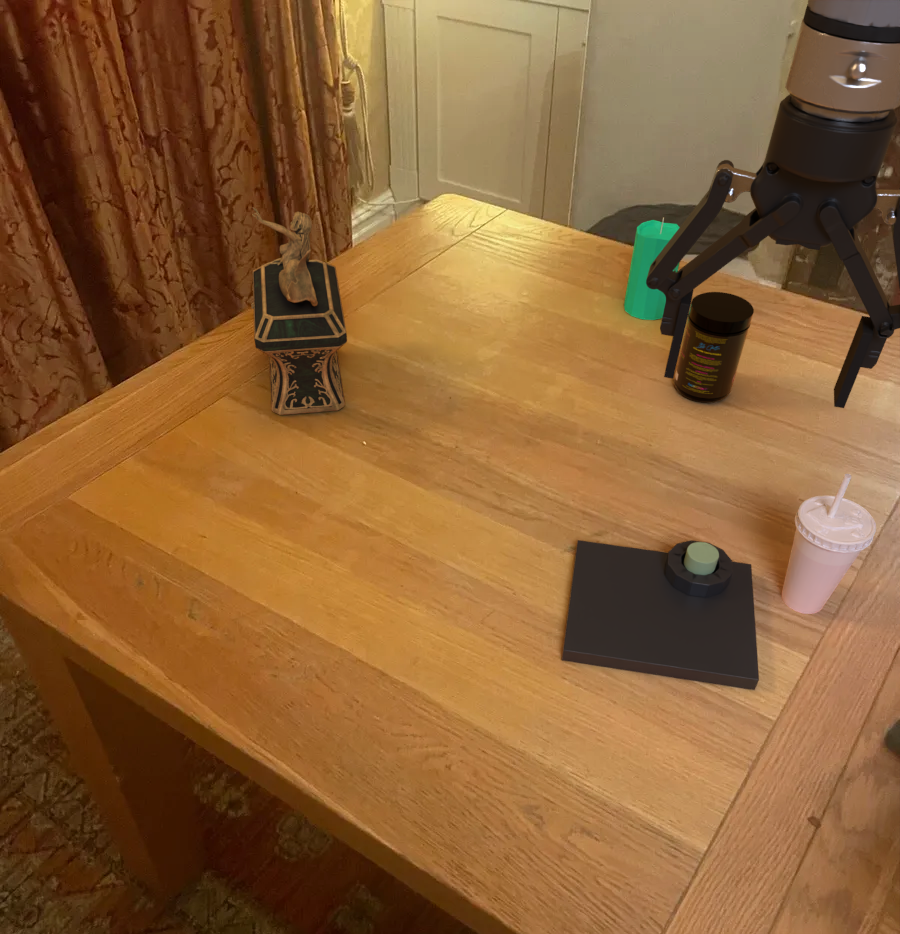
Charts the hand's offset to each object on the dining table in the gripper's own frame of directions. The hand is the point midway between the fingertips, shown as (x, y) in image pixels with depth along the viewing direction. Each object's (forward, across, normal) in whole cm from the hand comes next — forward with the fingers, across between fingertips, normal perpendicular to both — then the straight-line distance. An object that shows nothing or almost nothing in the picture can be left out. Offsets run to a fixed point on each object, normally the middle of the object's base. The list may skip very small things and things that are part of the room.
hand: (753, 384), depth 74 cm
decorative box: (+18, -46, +13) cm, 52 cm away
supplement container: (+18, -2, +27) cm, 33 cm away
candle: (+18, -11, +45) cm, 49 cm away
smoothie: (+18, +9, -5) cm, 21 cm away
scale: (+18, -3, -11) cm, 21 cm away
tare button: (+15, 0, -6) cm, 16 cm away
